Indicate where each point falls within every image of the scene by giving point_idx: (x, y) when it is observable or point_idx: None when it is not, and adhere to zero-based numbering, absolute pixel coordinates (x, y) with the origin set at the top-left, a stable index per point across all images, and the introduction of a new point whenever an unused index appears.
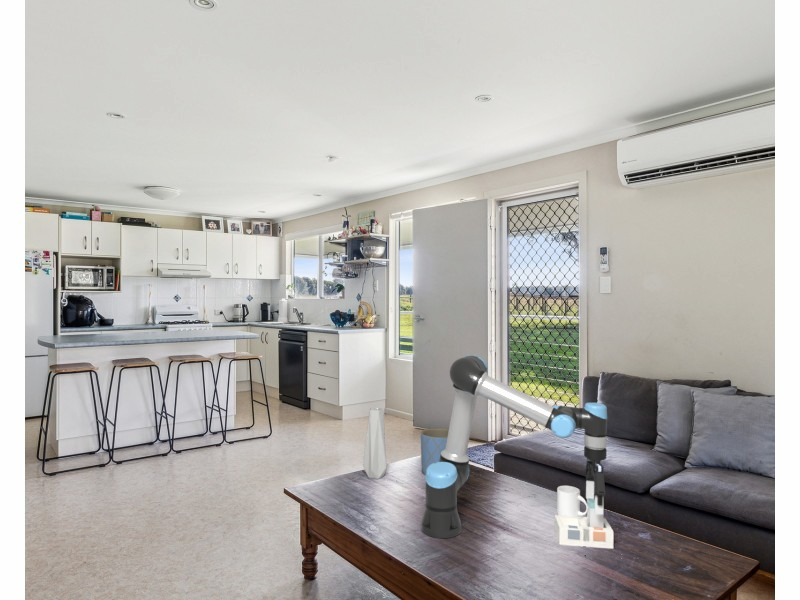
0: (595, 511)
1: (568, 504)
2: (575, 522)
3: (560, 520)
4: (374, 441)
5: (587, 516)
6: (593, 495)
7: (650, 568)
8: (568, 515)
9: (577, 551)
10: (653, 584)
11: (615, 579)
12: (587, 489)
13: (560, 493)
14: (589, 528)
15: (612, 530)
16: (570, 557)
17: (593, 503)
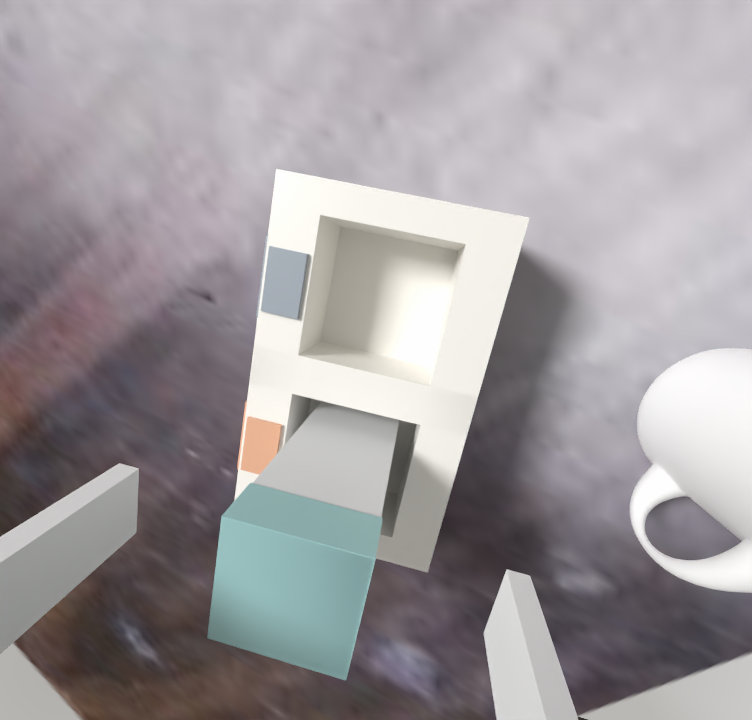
0: (99, 479)
1: (723, 429)
2: (434, 360)
3: (407, 227)
4: None
5: (387, 451)
6: (492, 673)
7: None
8: (662, 398)
9: (243, 273)
10: (9, 462)
11: (17, 337)
12: (531, 698)
13: None
14: (265, 392)
15: None
16: (179, 207)
17: (218, 548)
